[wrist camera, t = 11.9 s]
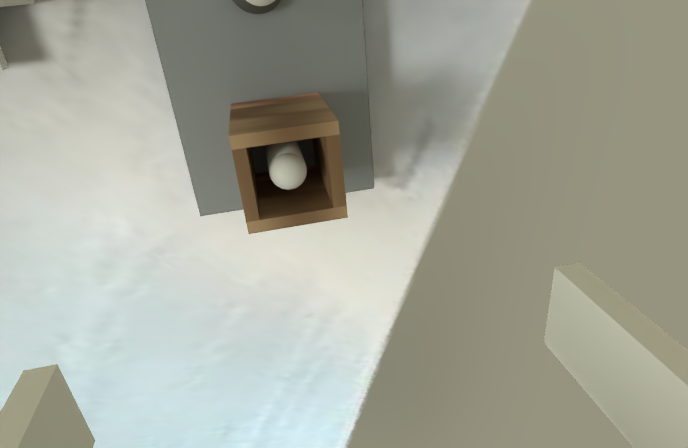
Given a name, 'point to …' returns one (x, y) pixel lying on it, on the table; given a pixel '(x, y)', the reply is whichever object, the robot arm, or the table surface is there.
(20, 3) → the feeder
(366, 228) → the table surface
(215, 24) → the pinboard
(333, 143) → the sleeve
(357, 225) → the table surface
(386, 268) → the table surface
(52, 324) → the table surface
